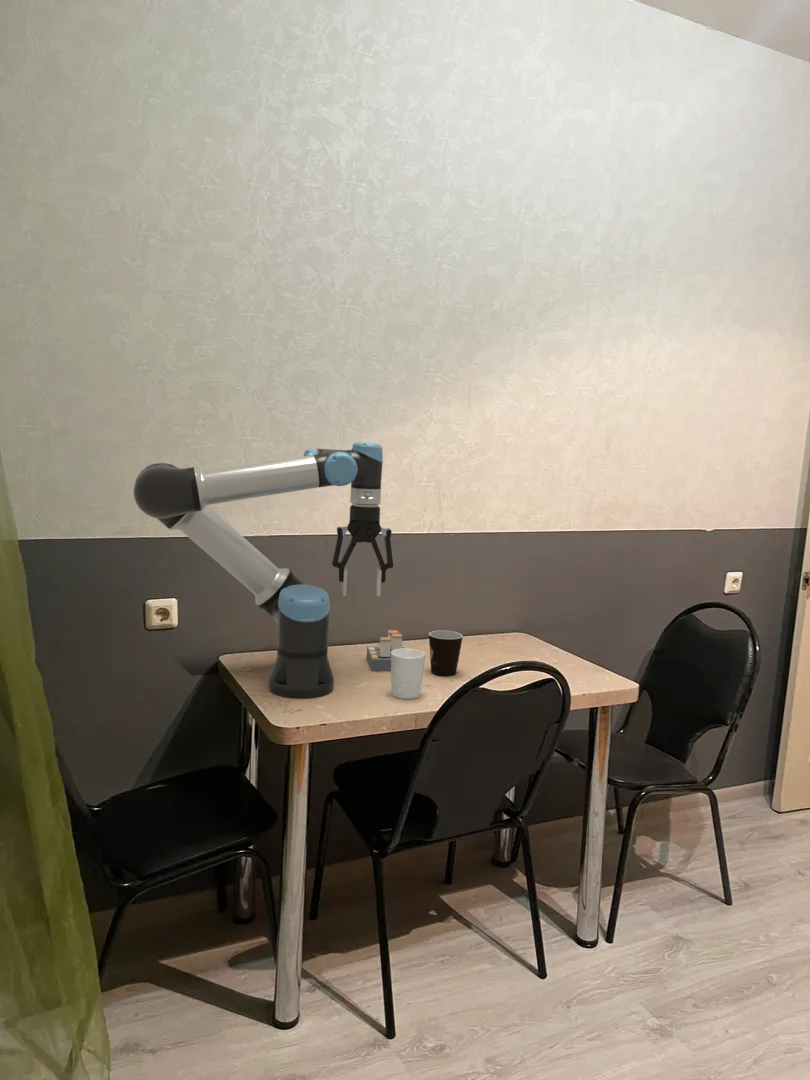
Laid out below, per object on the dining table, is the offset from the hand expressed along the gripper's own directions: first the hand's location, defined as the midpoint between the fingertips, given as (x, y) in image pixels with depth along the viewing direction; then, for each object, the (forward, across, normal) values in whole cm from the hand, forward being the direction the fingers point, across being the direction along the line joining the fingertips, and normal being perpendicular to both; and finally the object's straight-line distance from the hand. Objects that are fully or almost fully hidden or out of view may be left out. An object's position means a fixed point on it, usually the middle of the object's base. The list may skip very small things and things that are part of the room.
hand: (361, 594), depth 204 cm
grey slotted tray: (+19, +8, +4) cm, 21 cm away
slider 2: (+16, +10, +4) cm, 19 cm away
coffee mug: (+19, +22, -2) cm, 30 cm away
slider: (+16, +10, +7) cm, 20 cm away
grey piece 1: (+16, +7, 0) cm, 18 cm away
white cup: (+19, +9, -20) cm, 30 cm away
